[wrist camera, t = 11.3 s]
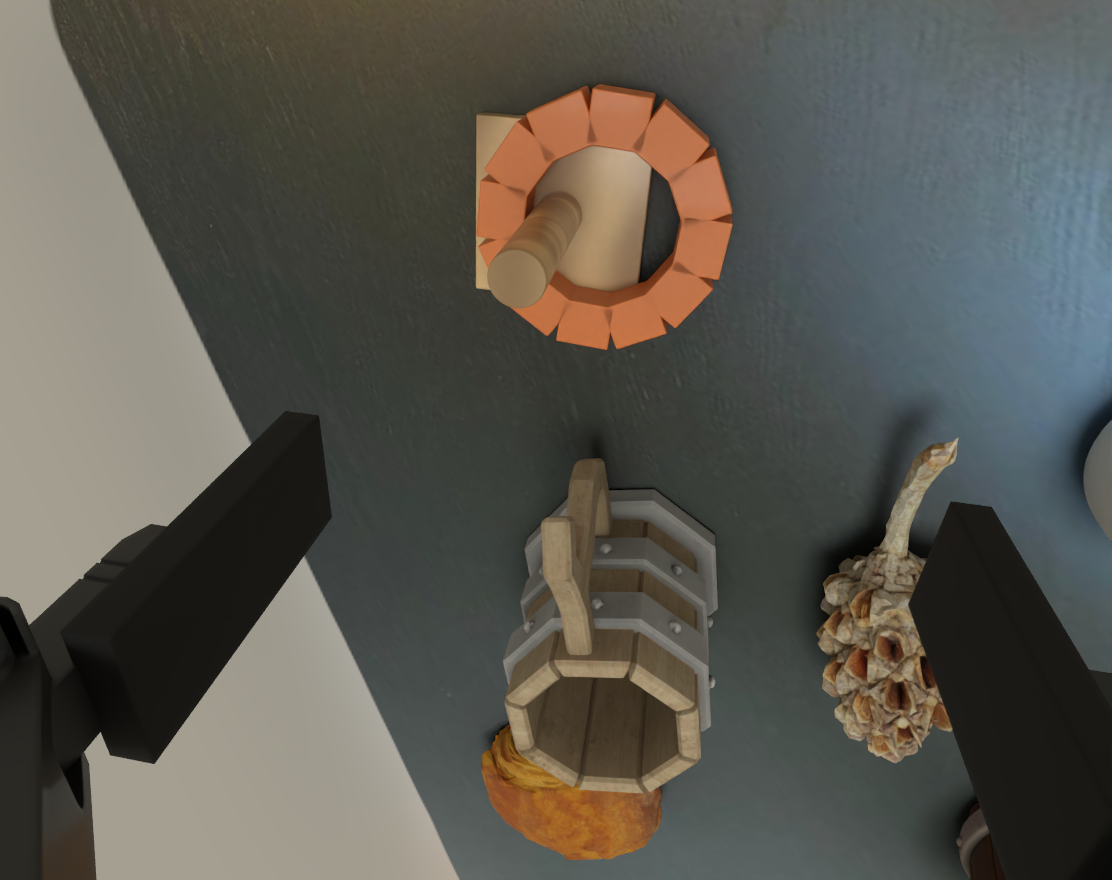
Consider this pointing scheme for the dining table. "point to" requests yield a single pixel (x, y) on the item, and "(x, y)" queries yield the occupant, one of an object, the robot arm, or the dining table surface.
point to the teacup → (1100, 480)
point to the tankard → (613, 639)
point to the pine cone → (884, 632)
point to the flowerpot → (978, 849)
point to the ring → (666, 149)
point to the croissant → (566, 807)
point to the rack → (568, 221)
